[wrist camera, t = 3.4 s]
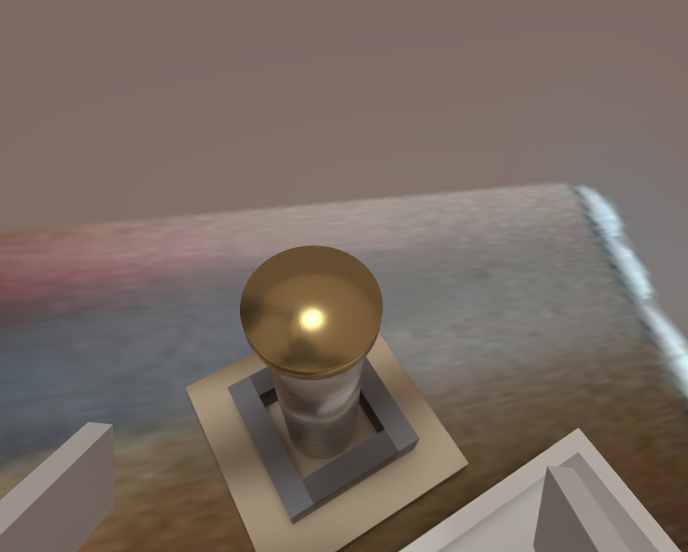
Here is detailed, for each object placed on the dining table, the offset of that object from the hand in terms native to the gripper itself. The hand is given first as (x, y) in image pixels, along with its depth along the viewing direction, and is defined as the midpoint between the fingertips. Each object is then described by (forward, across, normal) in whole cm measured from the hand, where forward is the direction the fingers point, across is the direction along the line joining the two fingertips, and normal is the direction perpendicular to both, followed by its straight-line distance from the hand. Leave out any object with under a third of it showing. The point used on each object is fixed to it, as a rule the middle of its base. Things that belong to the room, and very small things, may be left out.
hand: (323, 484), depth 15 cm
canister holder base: (+12, -1, -5) cm, 12 cm away
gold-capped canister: (+11, -1, -4) cm, 12 cm away
